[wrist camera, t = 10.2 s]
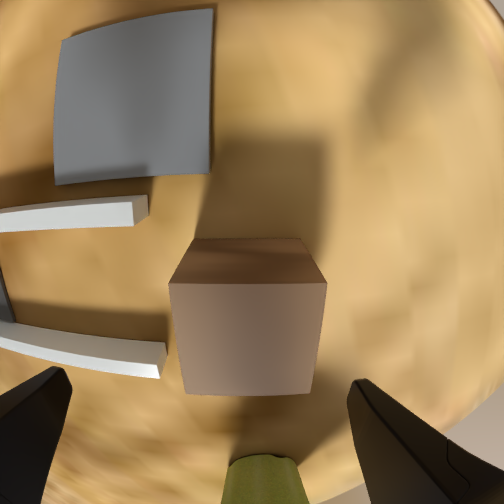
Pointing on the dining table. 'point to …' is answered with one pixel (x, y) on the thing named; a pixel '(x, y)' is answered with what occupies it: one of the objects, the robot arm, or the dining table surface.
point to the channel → (65, 343)
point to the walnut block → (247, 316)
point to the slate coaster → (135, 99)
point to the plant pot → (263, 481)
